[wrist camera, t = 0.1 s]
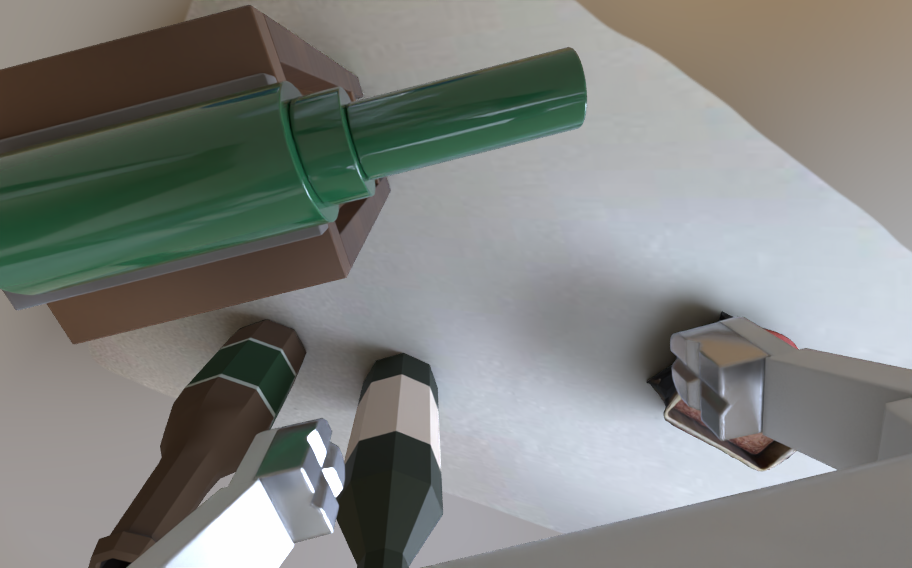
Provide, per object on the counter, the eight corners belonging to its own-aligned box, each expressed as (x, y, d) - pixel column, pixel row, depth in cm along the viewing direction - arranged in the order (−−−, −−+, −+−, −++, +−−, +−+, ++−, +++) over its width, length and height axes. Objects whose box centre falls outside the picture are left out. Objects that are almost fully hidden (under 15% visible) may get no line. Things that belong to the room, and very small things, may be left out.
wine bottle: (433, 417, 50) (443, 800, 22) (361, 413, 49) (274, 806, 21) (441, 355, 47) (464, 704, 19) (365, 350, 46) (269, 706, 18)
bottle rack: (223, 111, 37) (-136, 90, 13) (357, 77, 36) (235, -7, 13) (268, 221, 40) (49, 360, 17) (390, 191, 40) (341, 288, 17)
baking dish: (698, 431, 56) (766, 494, 47) (615, 376, 48) (677, 438, 39) (778, 348, 53) (866, 397, 44) (703, 277, 46) (790, 318, 37)
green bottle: (100, 269, 17) (-6, 318, 12) (34, 155, 15) (-113, 168, 11) (562, 154, 16) (608, 165, 12) (544, 25, 15) (591, -13, 11)
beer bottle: (310, 381, 47) (204, 620, 24) (237, 380, 46) (59, 624, 24) (306, 318, 44) (182, 520, 22) (228, 315, 43) (17, 522, 21)
